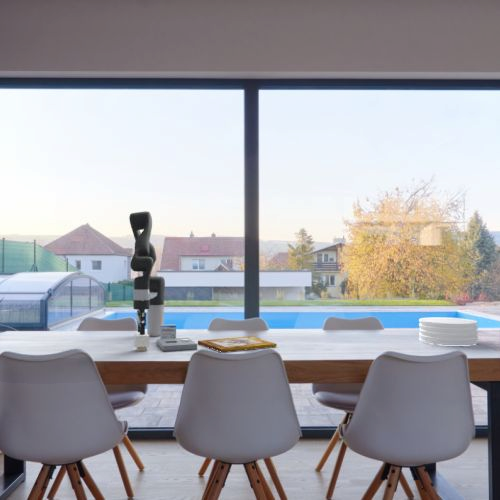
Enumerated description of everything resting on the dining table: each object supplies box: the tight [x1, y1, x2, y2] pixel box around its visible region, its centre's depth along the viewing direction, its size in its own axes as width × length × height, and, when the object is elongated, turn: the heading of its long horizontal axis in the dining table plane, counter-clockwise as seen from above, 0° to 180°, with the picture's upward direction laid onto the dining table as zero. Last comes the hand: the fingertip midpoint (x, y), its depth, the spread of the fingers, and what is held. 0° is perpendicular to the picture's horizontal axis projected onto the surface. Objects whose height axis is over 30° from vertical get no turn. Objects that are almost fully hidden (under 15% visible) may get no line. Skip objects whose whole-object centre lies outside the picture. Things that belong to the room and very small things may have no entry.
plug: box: [133, 333, 150, 352], centre depth 220 cm, size 6×6×7 cm
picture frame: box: [197, 335, 277, 353], centre depth 233 cm, size 27×2×30 cm
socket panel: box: [156, 337, 198, 352], centre depth 228 cm, size 20×16×3 cm
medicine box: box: [159, 324, 177, 339], centre depth 244 cm, size 8×4×9 cm, turn 105°
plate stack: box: [418, 316, 479, 345], centre depth 243 cm, size 28×28×12 cm
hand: (141, 333), depth 220 cm, fingers open, 8 cm apart
